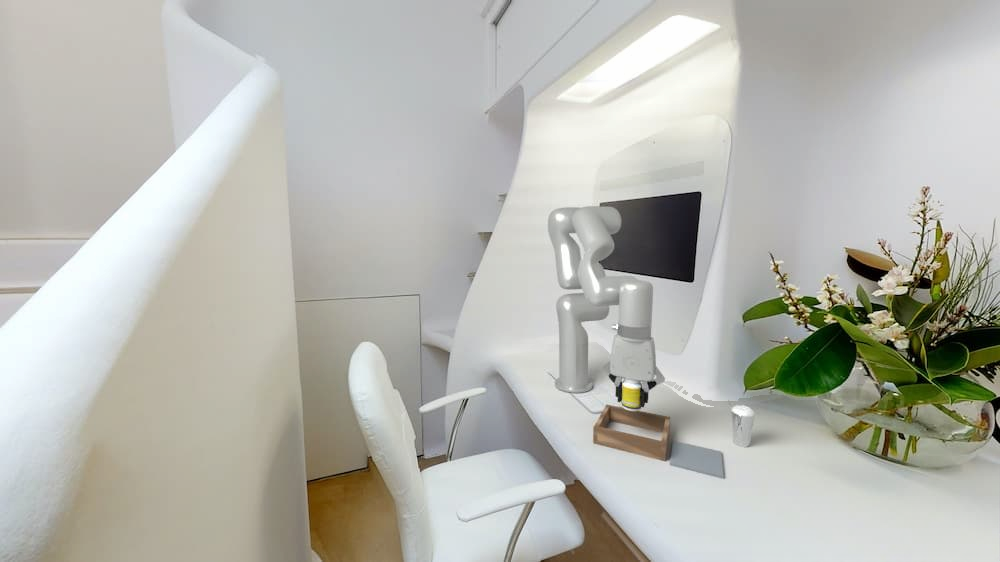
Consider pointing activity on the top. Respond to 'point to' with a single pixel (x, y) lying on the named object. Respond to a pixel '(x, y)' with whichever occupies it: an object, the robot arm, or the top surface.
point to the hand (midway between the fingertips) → (631, 401)
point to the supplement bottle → (631, 394)
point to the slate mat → (697, 459)
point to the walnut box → (631, 441)
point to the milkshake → (742, 424)
